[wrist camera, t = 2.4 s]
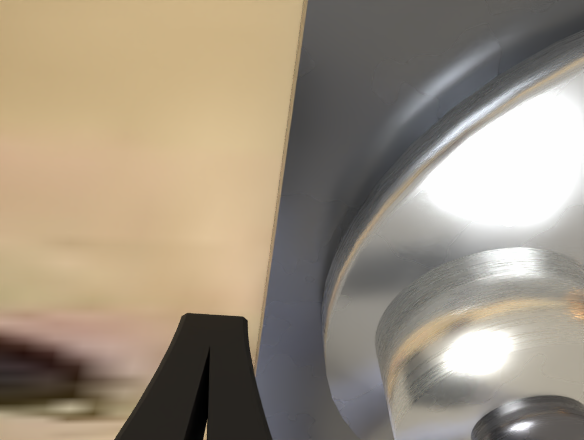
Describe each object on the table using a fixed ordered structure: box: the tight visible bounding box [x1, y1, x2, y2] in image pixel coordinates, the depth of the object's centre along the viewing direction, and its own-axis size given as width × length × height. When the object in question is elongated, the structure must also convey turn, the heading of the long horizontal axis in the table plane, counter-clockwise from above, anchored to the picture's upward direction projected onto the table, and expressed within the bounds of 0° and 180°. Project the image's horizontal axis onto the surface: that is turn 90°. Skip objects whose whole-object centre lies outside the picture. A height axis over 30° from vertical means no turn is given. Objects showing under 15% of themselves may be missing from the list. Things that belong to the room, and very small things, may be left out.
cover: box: [375, 248, 584, 440], centre depth 11 cm, size 6×6×3 cm
